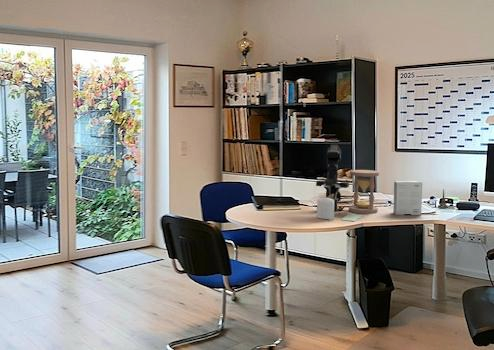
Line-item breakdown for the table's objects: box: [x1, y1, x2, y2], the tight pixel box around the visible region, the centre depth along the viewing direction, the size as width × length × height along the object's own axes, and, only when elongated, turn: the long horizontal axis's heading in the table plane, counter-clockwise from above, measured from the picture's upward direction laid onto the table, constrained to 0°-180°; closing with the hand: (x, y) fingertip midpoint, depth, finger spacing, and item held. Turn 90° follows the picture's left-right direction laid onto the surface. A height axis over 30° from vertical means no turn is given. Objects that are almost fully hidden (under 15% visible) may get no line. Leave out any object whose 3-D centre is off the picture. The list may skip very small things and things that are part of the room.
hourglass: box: [348, 169, 380, 215], centre depth 329 cm, size 18×18×25 cm
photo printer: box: [316, 196, 335, 221], centre depth 305 cm, size 10×4×12 cm, turn 56°
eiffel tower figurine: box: [437, 189, 455, 210], centre depth 343 cm, size 15×10×13 cm
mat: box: [340, 213, 363, 222], centre depth 308 cm, size 18×8×1 cm, turn 155°
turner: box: [328, 194, 336, 202], centre depth 313 cm, size 15×6×3 cm, turn 155°
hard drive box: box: [393, 180, 423, 216], centre depth 321 cm, size 16×8×20 cm, turn 84°
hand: (332, 198), depth 316 cm, fingers closed on turner, 2 cm apart
